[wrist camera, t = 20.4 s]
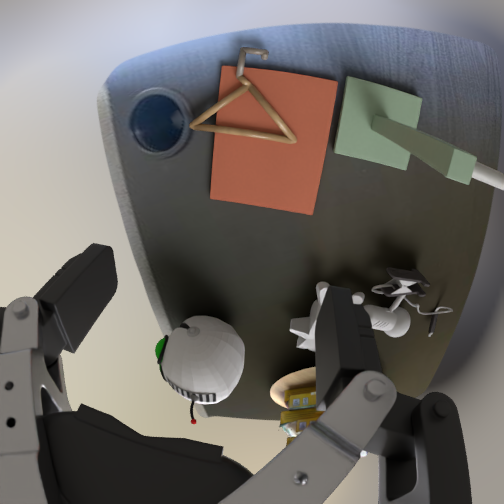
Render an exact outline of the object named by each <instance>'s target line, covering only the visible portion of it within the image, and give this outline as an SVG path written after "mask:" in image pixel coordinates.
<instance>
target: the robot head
mask: <svg viewBox="0 0 504 504" xmlns="http://www.w3.org/2000/svg"><path fill="white" fill-rule="evenodd" d="M155 352H156V356H157V358H158V361H157V363H158V364H160V372H161V374H162V377H163V379H164V380H165V381H167V382H168V383H169V384H170V386H171V387H172V388H173V389H174V390H175V391H176V392H177V393H178V394H180V395H181V396H183V397H184V398H186V399H188V400H190V401H192V403H191V408H190V414H191V418H192V420H191V423H192V424H196V420H195V419H194V417H193V405H194V402H195V403H200V404H213V403H218V402H219V401H221V400H223V399H225V398H227V397H228V396H229V394H230V393H231V392H232V390H233V389H234V387H235V386H236V385H237V383H238V381H239V379H240V376H241V374H242V371H243V367H244V353H245V348H244V344H243V341H242V340H241V338H240V337H239V336H238V334H237V333H236V331H235V330H234V328H233V327H232V326H231V325H229V324H227V323H225V322H223V321H221V320H220V319H218V318H214V317H210V316H193V317H191V318H188V319H187V320H185V321H184V322H183V323H182V324H181V325H180V327H178V328H176V329H175V330H174V331H173V332H172V333H171V335H170V336H169V337H168V335H165V337H164V338H163V339H161V340H160V341H159V342H158V343H157V345H156V349H155Z"/></svg>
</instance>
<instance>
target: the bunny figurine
mask: <svg viewBox="0 0 504 504" xmlns="http://www.w3.org/2000/svg"><path fill="white" fill-rule="evenodd" d="M328 286H329V284H328V283H326V282H319V283H318V284H317V286H316V291H317V297H318V300H315V301H314V303H313V305H312V307H311V310H310V317H303V318H295V319H292V320H291V323H290V331H291V332H293V333H295V334H297V335H299V338H298V340H297V347H298V348H302V349H307V348H308V349H309V350H311V351H315V326H316V321H317V317H318V314H319V311H320V308H321V305H322V302H323V299H324V296H325V293H326V290H327V288H328ZM364 297H365V294H363V293H362V292H357V293H355V294H353V295H352V298H353V303H354V304H361V303H362V302H363V300H364Z"/></svg>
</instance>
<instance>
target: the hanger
mask: <svg viewBox="0 0 504 504" xmlns="http://www.w3.org/2000/svg"><path fill="white" fill-rule="evenodd" d="M246 53H248V54H257V55H261V58H262V59H263V60H267V59H268V54H269V52H268V50H266V49H258V48H249V47H241V48H240V53H239V59H238V65H237V72H236V78H237V79H238V80H239V81H240V82H241V83H242V84H243V85H242V86H241V87H239V88H238V89H236V90H235V91H233V92H232V93H231V94H229V95H228V96H226V97H225V98H223V99H222V100H220V101H219V102H218V103H216V104H215V105H213V106H212V107H211V108H209V109H208V110H207V111H205V112H204V113H202V114H201V115H200V116H198V117H197V118H196V119H194V120H193V121H192V122H191V123H190V124H189V127H190V128H192V129H193V130H200V131H209V132H217V133H225V134H233V135H240V136H246V137H253V138H259V139H265V140H271V141H276V142H282V143H287V144H293V143H296V142H297V138H296V136H295V135H294V134H293V133H292V131H291V130H290V129H289V127H288V126H287V125H286V124H285V122H284V121H283V120H282V119H281V117H280V116H279V115H278V114H277V113H276V111H275V110H274V109H273V108H272V106H271V105H270V104H269V103H268V102H267V100H266V99H265V98H264V97H263V96H262V95H261V93H260V92H259V91H258V90H257V89H256V88H255V86H254V85H253V84H251V83H250V82H249V81H248V80H247V79H246V78H245V77H244V76H243V71H244V64H245V58H246ZM246 91H249V92H250V93H251V94H252V95H253V97H254V98H255V99H256V100H257V101H258V102H259V104H260V105H261V106H262V107H263V108H264V110H265V111H266V112H267V113H268V114H269V116H270V117H271V118H272V119H273V120H274V122H275V123H276V124H277V125H278V127H279V128H280V129H281V130H282V132H283V133H284V134H285V135H286V136H283V135H278V134H272V133H266V132H260V131H254V130H248V129H241V128H234V127H226V126H218V125H209V124H201V123H202V122H203V121H205V120H206V119H207V118H209V117H210V116H211V115H213V114H214V113H216V112H217V111H218V110H220V109H221V108H223V107H224V106H226V105H227V104H229V103H230V102H231V101H233V100H234V99H236V98H237V97H239V96H240V95H242V94H243V93H245V92H246Z"/></svg>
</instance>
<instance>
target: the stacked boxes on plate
mask: <svg viewBox="0 0 504 504" xmlns="http://www.w3.org/2000/svg"><path fill="white" fill-rule="evenodd" d="M270 394H271V397H272V399H273V400H274V401H275V402H276V403H278V404H279V405H281V406H283V407H286V408H288V409H289V411H282V412H280V413H281V421H280V427H282V428H283V430H284V431H285V432H286V433H287V434H288V435H289V436H290V437H288V438H287V445H288V444H289V443H291V442H292V441H293V440H294V439H295V438H296V437H297V436H298V435H299V434H300V433H301V432H302V431H303V430H304V429H305V428H306V427H307V426H308V425H309V424H310V423H312V422H315V421H316V420H317V419H318V418H319V417H320V416H321V415H322V414H323V413H324V412H325V411H316V367H311V368H307V369H303V370H300V371H297V372H294V373H291V374H289V375H287V376H284V377H283V378H281V379H279V380H278V381H277V382H276V383H275V384H274V385H273V386H272V388H271V390H270ZM287 445H286V446H287ZM367 453H368V452H366V451H363V450H362V452H361V453H360V455H361V456H360V457H365V456H367Z"/></svg>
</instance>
